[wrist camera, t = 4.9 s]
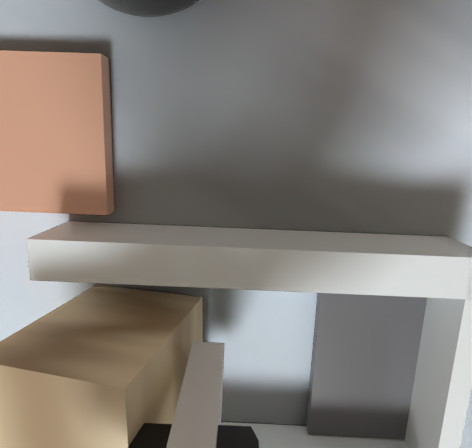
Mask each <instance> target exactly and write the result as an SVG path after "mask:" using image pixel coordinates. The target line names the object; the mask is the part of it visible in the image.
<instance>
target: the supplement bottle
mask: <svg viewBox="0 0 472 448" xmlns="http://www.w3.org/2000/svg"><path fill="white" fill-rule="evenodd" d="M98 1H100V2H102V3H103V4H105V5H107V6H109V7H111V8H113V9H115V10H117V11H120V12H123V13H126V14H130V15H135V16H143V17H156V16H164V15H169V14H173V13H176V12H179V11H181V10H184V9H186V8H188V7H190V6H191V5H193V4H195V3H196V2H198V1H199V0H98Z"/></svg>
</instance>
